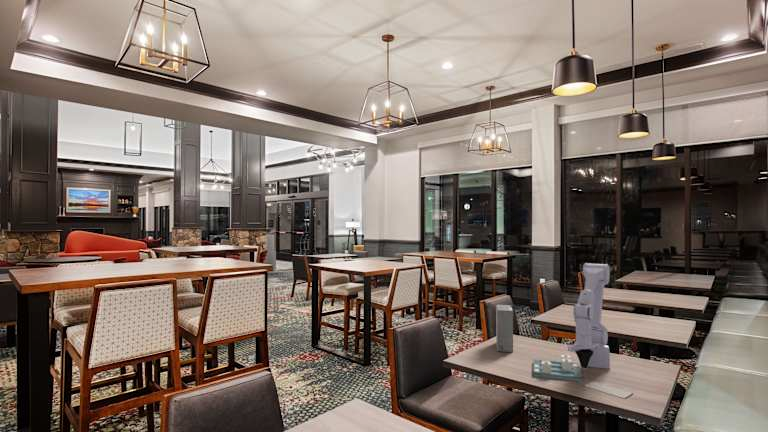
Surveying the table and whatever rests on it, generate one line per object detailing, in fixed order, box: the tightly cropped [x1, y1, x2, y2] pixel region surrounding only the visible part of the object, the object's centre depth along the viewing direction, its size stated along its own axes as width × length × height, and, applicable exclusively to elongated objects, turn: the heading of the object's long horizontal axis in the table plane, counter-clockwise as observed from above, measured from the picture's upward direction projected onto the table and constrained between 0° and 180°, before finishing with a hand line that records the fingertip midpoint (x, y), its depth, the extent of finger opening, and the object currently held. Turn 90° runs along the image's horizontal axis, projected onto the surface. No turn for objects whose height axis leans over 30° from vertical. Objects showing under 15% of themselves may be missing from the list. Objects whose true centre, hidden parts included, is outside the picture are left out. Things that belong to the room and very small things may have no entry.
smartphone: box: [583, 381, 634, 400], centre depth 154 cm, size 7×1×15 cm
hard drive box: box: [495, 304, 514, 353], centre depth 207 cm, size 16×8×20 cm, turn 167°
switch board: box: [532, 358, 584, 383], centre depth 173 cm, size 18×17×2 cm
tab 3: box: [562, 358, 573, 371], centre depth 172 cm, size 4×4×5 cm
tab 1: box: [542, 359, 551, 374], centre depth 169 cm, size 4×4×5 cm
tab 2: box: [560, 353, 572, 365], centre depth 177 cm, size 4×4×5 cm
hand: (584, 367), depth 169 cm, fingers closed
